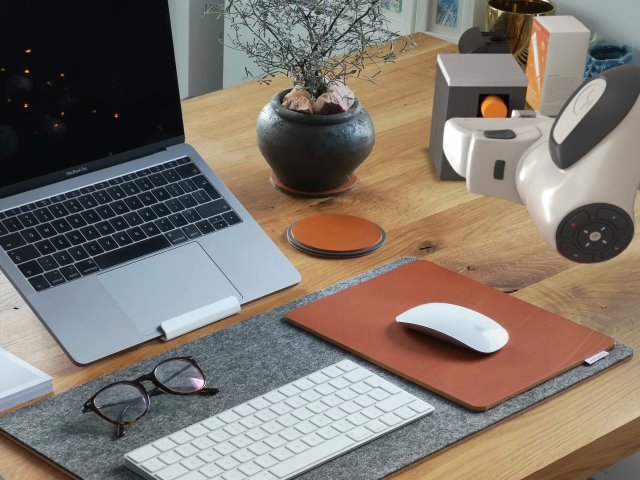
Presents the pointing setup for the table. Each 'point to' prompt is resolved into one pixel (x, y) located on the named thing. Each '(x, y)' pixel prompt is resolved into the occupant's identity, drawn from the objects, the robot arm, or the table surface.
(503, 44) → the end cap
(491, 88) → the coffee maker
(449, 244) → the table surface
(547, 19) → the small box
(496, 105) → the power button
